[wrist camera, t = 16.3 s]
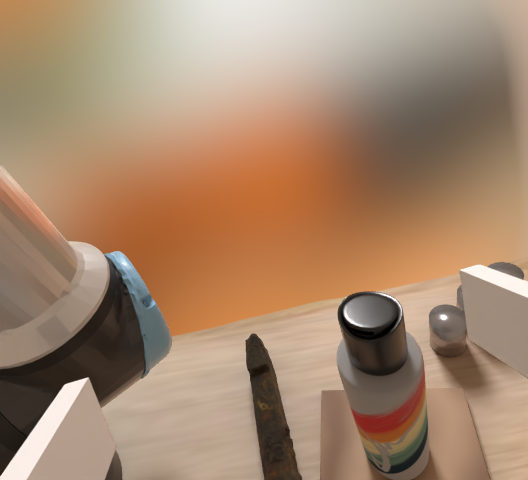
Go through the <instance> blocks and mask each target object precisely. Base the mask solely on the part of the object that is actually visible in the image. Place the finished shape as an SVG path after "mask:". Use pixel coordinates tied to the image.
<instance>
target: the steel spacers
mask: <svg viewBox="0 0 528 480" xmlns="http://www.w3.org/2000/svg"><path fill="white" fill-rule="evenodd" d="M488 268H491V269H494V270H497V271H499V272H502V273H505V274H508V275H511V276H513V277H516V278H519V279H522V280H523V278H524V273H523V271H522V270H521V269H520V268H519V267H517V266H516V265H513V264H510V263H505V262H499V263H494V264H491V265H489V266H488ZM429 329H430V345H431V347H432V348H433V350H434V351H435V352H437V353H438V354H440V355H442V356H445V357H456V356H459V355H461V354H462V353H463V352H464V350H465V348H466V334H467V326H466V318H465V310H464V302H463V294H462V286H460V287H459V288H458V290H457V307H455V306H452V305H440V306H437V307H435V308H433V309H432V310H431V312H430V314H429Z"/></svg>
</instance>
